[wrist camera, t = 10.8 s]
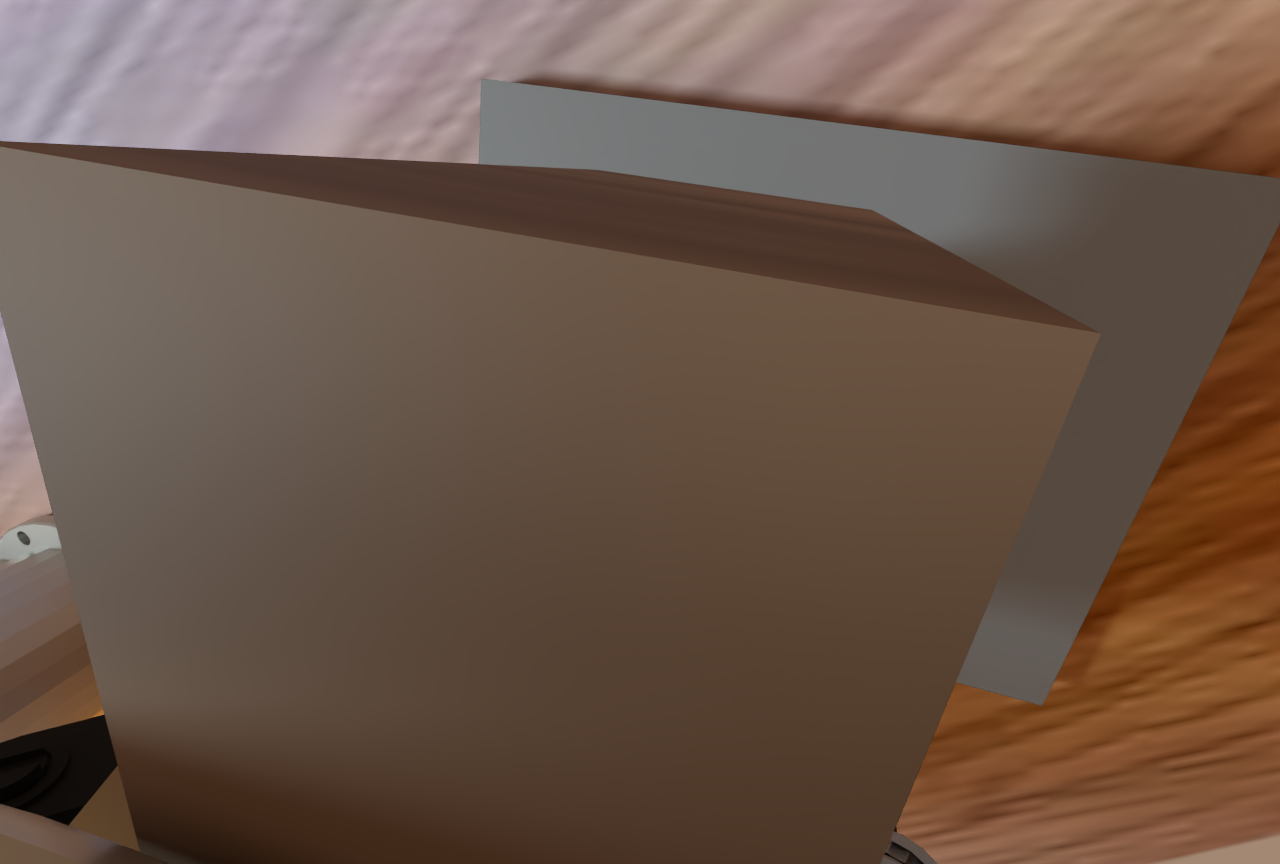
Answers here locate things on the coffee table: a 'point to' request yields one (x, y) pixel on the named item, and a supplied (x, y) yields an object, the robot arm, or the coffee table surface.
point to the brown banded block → (515, 499)
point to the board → (1010, 250)
